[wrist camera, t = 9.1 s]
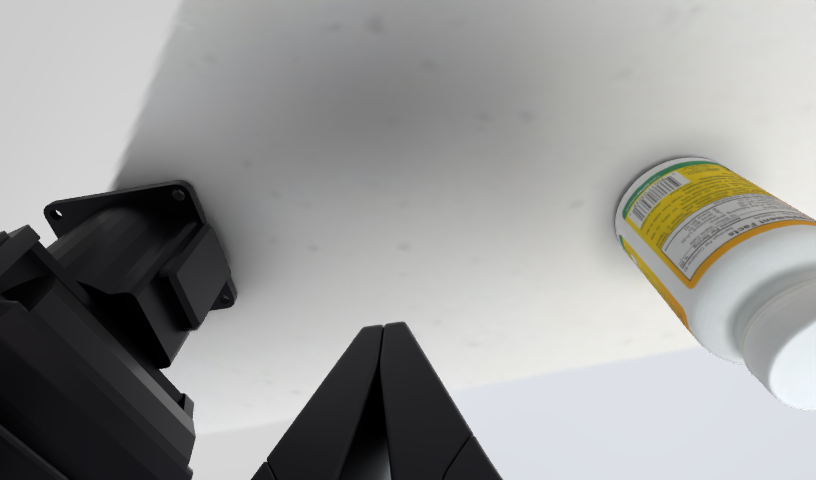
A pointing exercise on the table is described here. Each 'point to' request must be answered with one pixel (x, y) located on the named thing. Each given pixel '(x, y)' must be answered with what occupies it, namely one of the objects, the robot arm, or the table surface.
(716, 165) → the supplement bottle
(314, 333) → the table surface
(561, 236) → the table surface
